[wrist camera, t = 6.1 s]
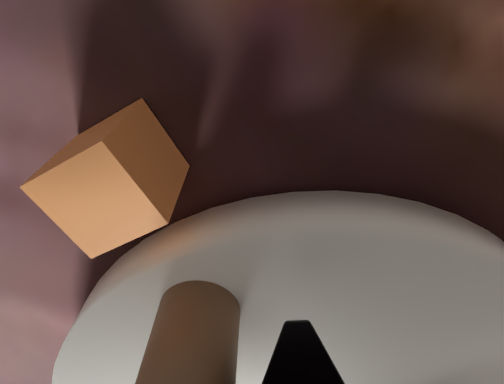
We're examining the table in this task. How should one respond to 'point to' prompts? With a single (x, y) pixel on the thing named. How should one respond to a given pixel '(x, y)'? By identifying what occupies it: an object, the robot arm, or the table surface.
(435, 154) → the table surface
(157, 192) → the pointer block
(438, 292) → the turntable
